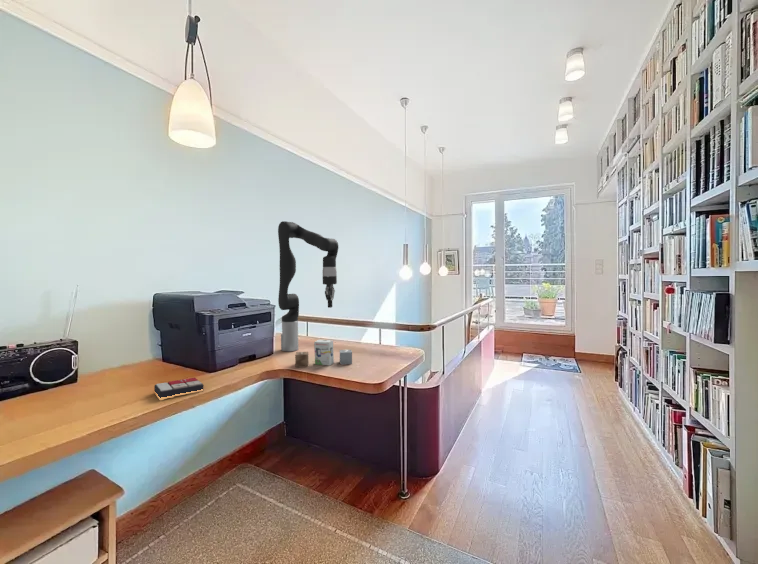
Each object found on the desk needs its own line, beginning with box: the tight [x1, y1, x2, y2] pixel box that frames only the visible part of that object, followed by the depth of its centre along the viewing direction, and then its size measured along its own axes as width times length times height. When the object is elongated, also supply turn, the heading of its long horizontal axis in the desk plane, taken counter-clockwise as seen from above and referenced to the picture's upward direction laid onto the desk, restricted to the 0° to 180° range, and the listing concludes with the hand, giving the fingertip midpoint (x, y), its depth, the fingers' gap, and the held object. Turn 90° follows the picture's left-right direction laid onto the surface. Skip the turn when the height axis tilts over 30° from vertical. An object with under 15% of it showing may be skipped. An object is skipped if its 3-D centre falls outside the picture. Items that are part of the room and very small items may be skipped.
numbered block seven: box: [339, 349, 353, 365], centre depth 178 cm, size 6×6×6 cm
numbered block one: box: [294, 351, 310, 368], centre depth 174 cm, size 6×6×6 cm
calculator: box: [153, 377, 204, 398], centre depth 138 cm, size 11×4×15 cm
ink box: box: [313, 339, 335, 366], centre depth 176 cm, size 9×5×12 cm, turn 73°
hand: (330, 307), depth 189 cm, fingers closed
